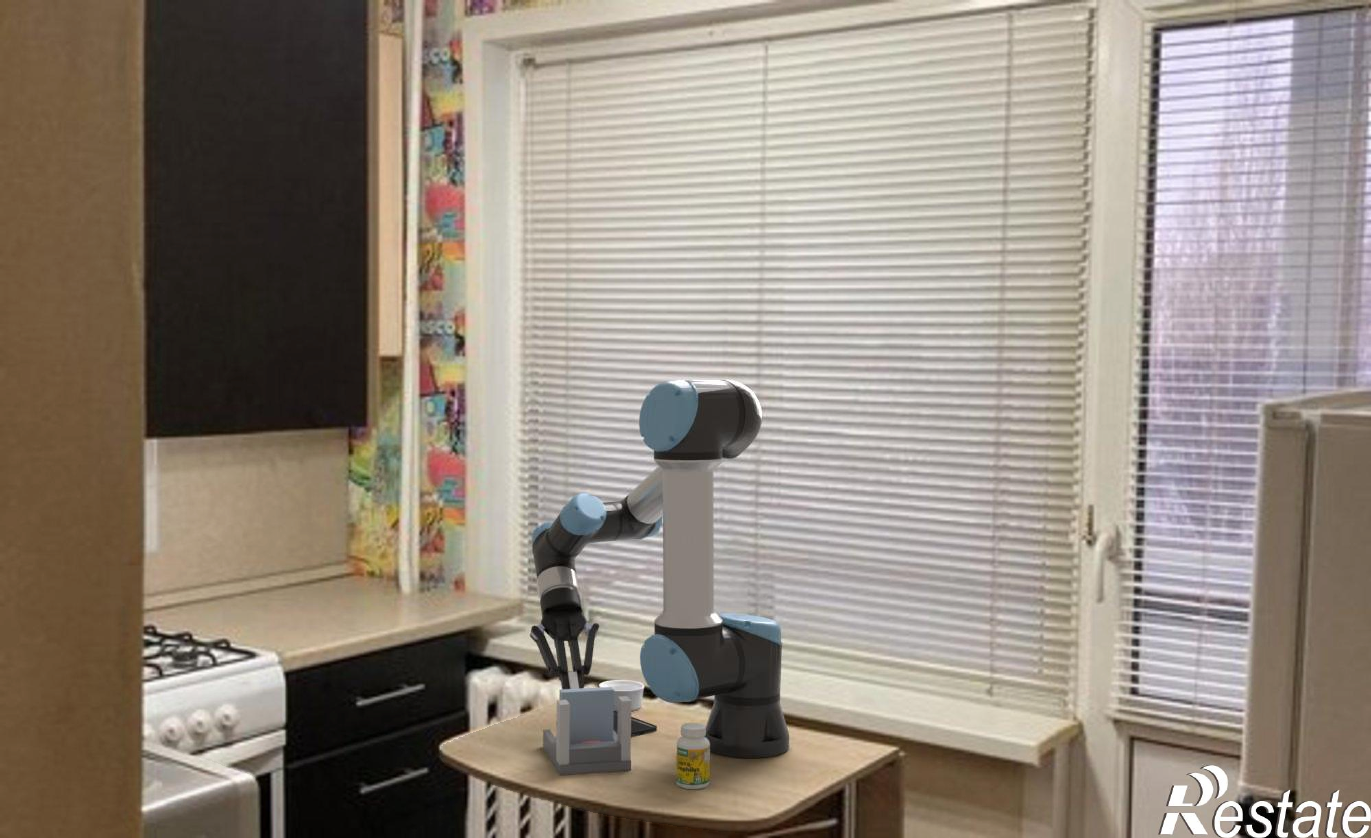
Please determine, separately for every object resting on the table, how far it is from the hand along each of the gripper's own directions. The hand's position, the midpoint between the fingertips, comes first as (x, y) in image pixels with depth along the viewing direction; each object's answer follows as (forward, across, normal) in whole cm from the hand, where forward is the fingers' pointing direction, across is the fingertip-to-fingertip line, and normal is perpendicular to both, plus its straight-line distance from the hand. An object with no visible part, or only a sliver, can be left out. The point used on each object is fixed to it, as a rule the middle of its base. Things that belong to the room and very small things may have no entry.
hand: (576, 707), depth 242 cm
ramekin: (-11, -14, -20) cm, 27 cm away
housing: (+11, 0, +2) cm, 11 cm away
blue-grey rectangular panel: (+10, 0, +3) cm, 10 cm away
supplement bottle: (+23, -14, +14) cm, 31 cm away
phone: (-2, -10, -12) cm, 15 cm away
